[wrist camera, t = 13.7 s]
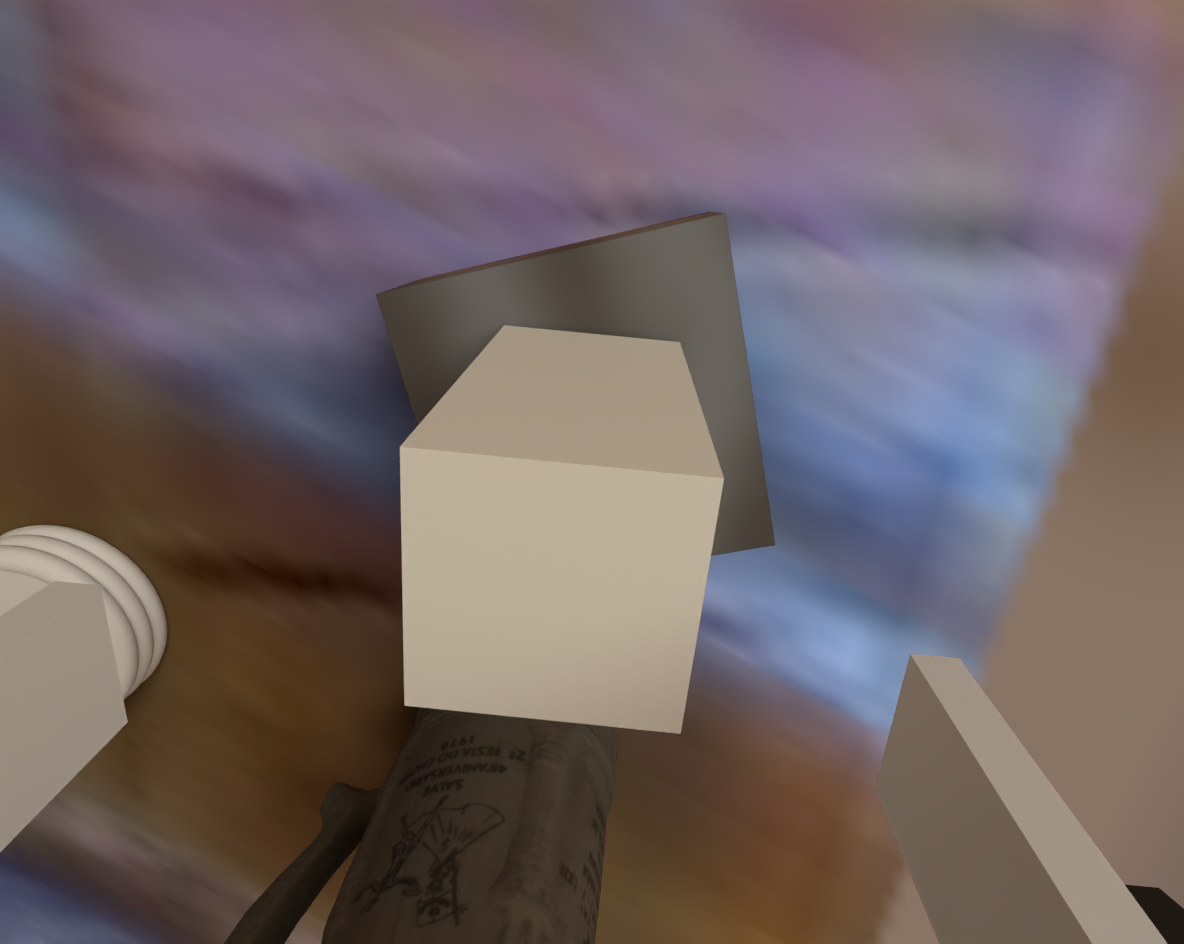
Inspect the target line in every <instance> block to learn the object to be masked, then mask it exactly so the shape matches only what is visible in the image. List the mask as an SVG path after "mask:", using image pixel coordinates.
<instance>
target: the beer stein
mask: <svg viewBox="0 0 1184 944" xmlns="http://www.w3.org/2000/svg"><path fill="white" fill-rule="evenodd" d="M617 750H618V736H617V727H610V726H600V725H590V724H580V723H570V722H560V721H551V720H541V719H531V718H521V717H511V716H501V715H492V714H482V713H472V712H462V711H452V710H442V709H433V708H423V707H419V708H418V711H417V714H416V718H415V726H414V728H413V730H412V731H411V733H410V735H409V737H408V739H407V741H406V743H405V745H404V746H403V748H402V749H401V751H400V753H399V755H398V757H397V759H396V760H395V762H394V764H393V766H392V768H391V771H390V773H389V775H388V777H387V779H386V780H385V782H384V784H383V786H382V788H379V789H375V790H370V791H366V790H363V789H359V788H355V787H352V786H349V785H347V784H344V783H342V782H341V783H334V785H333V786H332V788H331V790H330V791H329V793H328V794H327V796H326V797H325V799H324V801H323V804H322V807H321V810H320V812H321V818H322V821H323V825H322V830H321V831H320V833H319V834H318V836H317V837H316V839H315V840H314V841H313V842H312V843H311V844H310V845H309V846H308V847H307V848H306V849H305V850H304V851H303V852H302V853H301V854H300V855H299V856H298V857H297V858H296V859H295V860H294V861H293V862H292V863H291V864H290V865H289V866H288V867H287V868H286V869H285V870H284V871H283V872H282V873H281V874H280V875H279V876H278V878H277V879H276V880H275V881H274V882H273V883H272V884H271V885H270V886H269V887H268V889H267V890H266V891H265V892H264V893H263V894H262V895H261V896H260V897H259V898H258V899H257V901H256V902H255V903H254V904H253V905H252V906H251V907H250V908H249V910H248V911H247V912H246V913H245V914H244V916H243V917H242V919H241V920H240V921H239V923H238V924H237V926H236V927H235V929H234V930H233V931H232V933H231V934H230V936H229V937H228V939H227V940H226V941H225V943H224V944H285V942H286V940H287V939H288V937H289V935H290V934H291V932H292V931H293V929H294V928H295V926H296V924H297V923H298V921H299V920H300V919H301V917H302V916H303V915H304V913H305V912H306V911H307V909H308V908H309V907H310V905H311V904H312V902H313V901H314V899H315V898H316V897H317V895H318V894H319V892H320V891H321V890H322V888H323V887H324V885H325V884H326V883H327V882H328V880H329V879H330V878H331V877H332V875H333V874H334V873H335V872H336V870H337V869H338V868H339V867H340V866H341V864H342V863H343V862H344V861H345V860H346V858H347V857H348V856H349V855H350V854H351V853H352V851H353V850H354V849H355V848H356V847H357V845H358V844H359V843H360V842H361V843H360V845H359V848H358V850H357V852H356V854H355V857H354V859H353V861H352V863H351V865H350V868H349V870H348V872H347V874H346V876H345V879H344V881H343V884H342V887H341V889H340V892H339V894H338V897H337V899H336V901H335V904H334V906H333V908H332V910H331V912H330V915H329V917H328V920H327V923H326V925H325V928H324V932H323V938H322V943H321V944H595V936H596V927H597V918H598V910H599V901H600V892H601V883H602V871H603V859H604V847H605V835H606V823H607V816H608V813H609V811H610V808H611V804H612V800H613V796H614V775H613V770H614V767H615V763H616V758H617Z"/></svg>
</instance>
